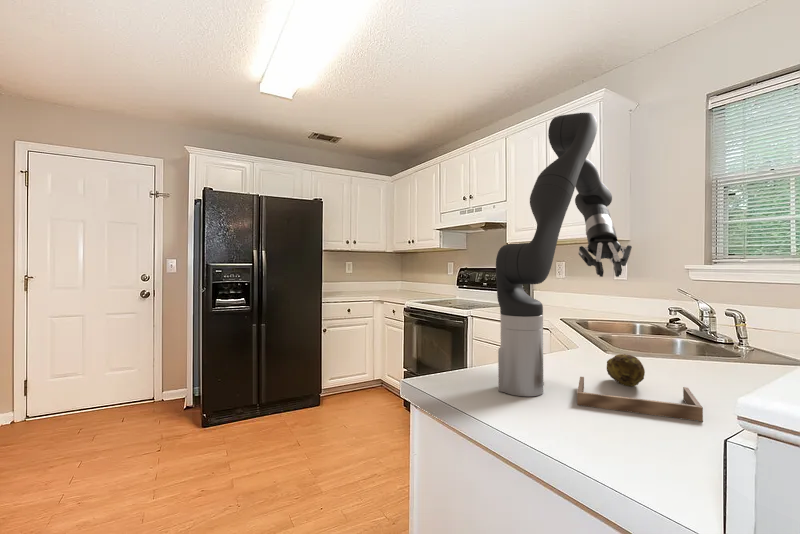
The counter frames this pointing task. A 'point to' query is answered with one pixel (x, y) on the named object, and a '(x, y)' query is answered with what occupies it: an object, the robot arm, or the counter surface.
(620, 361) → the potato
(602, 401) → the tray
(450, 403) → the counter surface
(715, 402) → the counter surface
